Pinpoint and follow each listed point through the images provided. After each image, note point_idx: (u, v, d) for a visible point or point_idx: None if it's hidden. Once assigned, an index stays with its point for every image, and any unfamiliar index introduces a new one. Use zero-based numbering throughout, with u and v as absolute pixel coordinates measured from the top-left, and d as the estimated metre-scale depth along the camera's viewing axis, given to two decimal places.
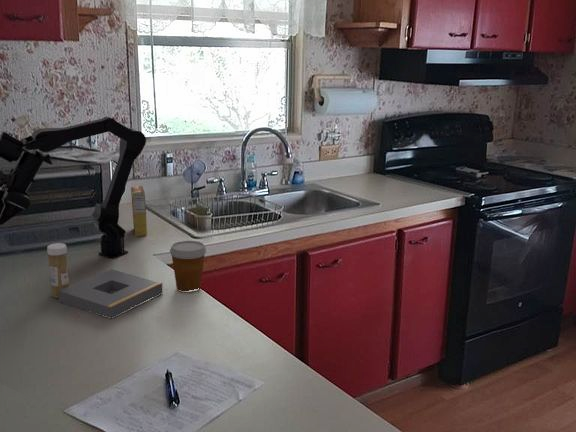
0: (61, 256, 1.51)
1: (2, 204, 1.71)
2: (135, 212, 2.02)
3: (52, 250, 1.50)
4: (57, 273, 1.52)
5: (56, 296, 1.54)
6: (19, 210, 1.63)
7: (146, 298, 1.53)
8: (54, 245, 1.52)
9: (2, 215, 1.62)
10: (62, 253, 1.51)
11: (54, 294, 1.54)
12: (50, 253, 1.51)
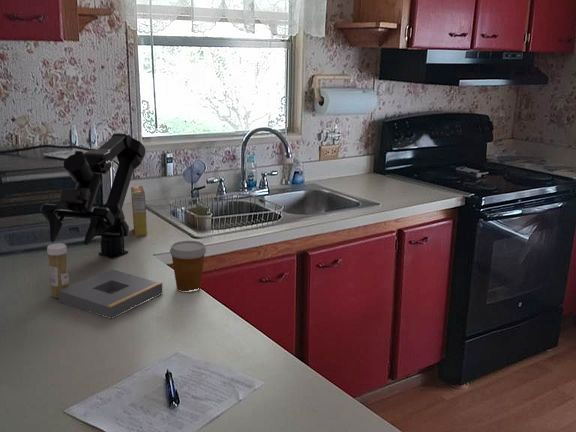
0: (61, 256, 1.51)
1: (56, 229, 1.61)
2: (135, 212, 2.02)
3: (52, 250, 1.50)
4: (57, 273, 1.52)
5: (56, 296, 1.54)
6: (101, 228, 1.62)
7: (146, 298, 1.53)
8: (54, 245, 1.52)
9: (90, 234, 1.58)
10: (62, 253, 1.51)
11: (54, 294, 1.54)
12: (50, 253, 1.51)
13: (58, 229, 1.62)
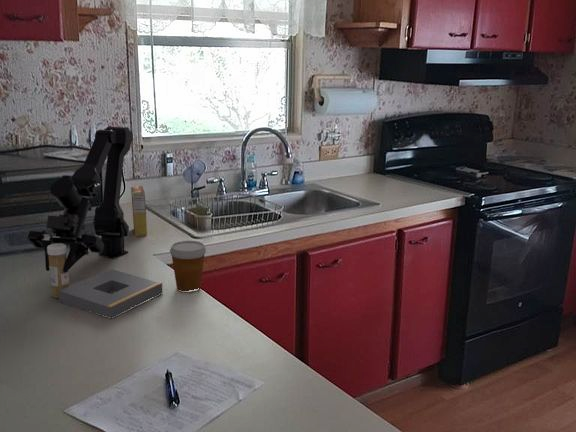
0: (61, 256, 1.51)
1: None
2: (135, 212, 2.02)
3: (51, 250, 1.50)
4: (57, 273, 1.52)
5: (56, 296, 1.54)
6: (81, 255, 1.57)
7: (146, 298, 1.53)
8: (54, 245, 1.52)
9: (70, 261, 1.53)
10: (62, 253, 1.51)
11: (54, 293, 1.54)
12: (50, 253, 1.51)
13: None
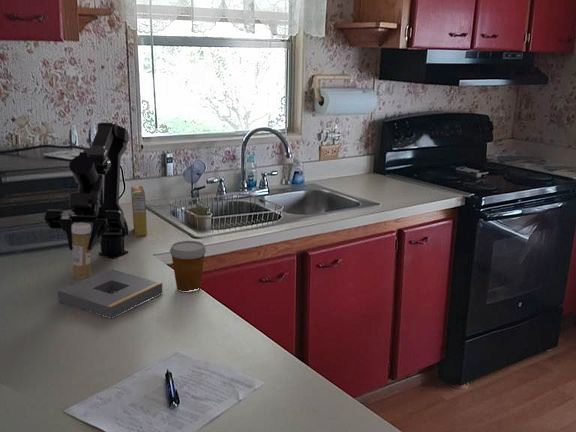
0: (86, 235, 1.49)
1: None
2: (135, 212, 2.02)
3: (78, 229, 1.48)
4: (82, 252, 1.49)
5: (79, 276, 1.51)
6: (102, 232, 1.55)
7: (146, 298, 1.53)
8: (78, 224, 1.50)
9: (94, 239, 1.51)
10: (88, 232, 1.49)
11: (76, 273, 1.51)
12: (76, 232, 1.48)
13: None
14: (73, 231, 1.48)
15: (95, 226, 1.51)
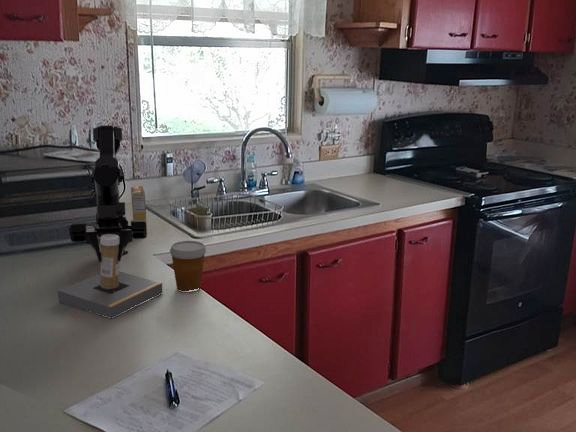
0: (116, 246, 1.51)
1: None
2: (135, 212, 2.02)
3: (109, 241, 1.49)
4: (112, 263, 1.51)
5: (109, 287, 1.52)
6: (126, 242, 1.57)
7: (146, 298, 1.53)
8: (107, 236, 1.51)
9: (122, 249, 1.53)
10: (118, 243, 1.51)
11: (106, 285, 1.52)
12: (107, 244, 1.49)
13: None
14: (103, 243, 1.49)
15: (122, 237, 1.53)
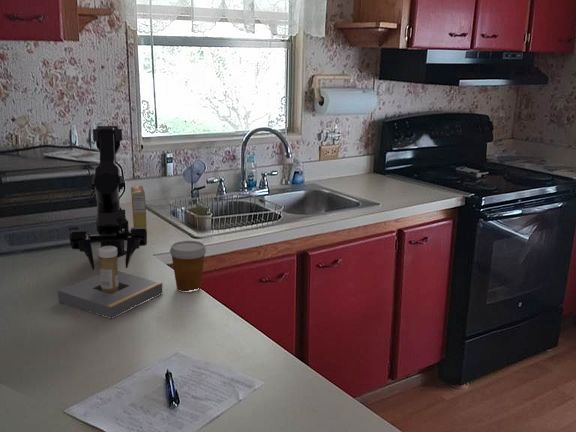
0: (115, 258, 1.51)
1: None
2: (135, 212, 2.02)
3: (107, 252, 1.50)
4: (111, 275, 1.52)
5: None
6: (133, 249, 1.58)
7: (146, 298, 1.53)
8: (105, 248, 1.51)
9: (129, 256, 1.53)
10: (116, 254, 1.52)
11: None
12: (105, 256, 1.50)
13: None
14: (101, 255, 1.50)
15: (129, 244, 1.54)
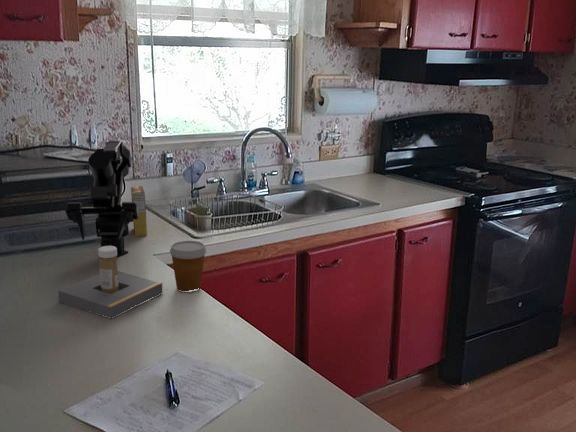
0: (114, 258, 1.51)
1: (83, 226, 1.64)
2: None
3: (107, 252, 1.50)
4: (111, 275, 1.52)
5: None
6: (127, 222, 1.68)
7: (146, 298, 1.53)
8: (104, 248, 1.51)
9: (122, 228, 1.64)
10: (116, 254, 1.52)
11: None
12: (105, 256, 1.50)
13: (84, 226, 1.65)
14: (101, 255, 1.50)
15: (122, 216, 1.64)
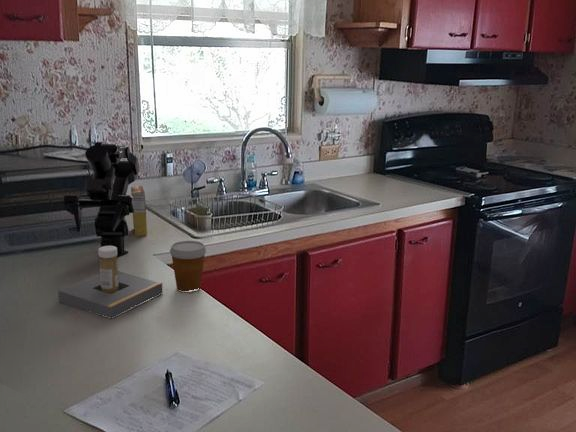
0: (115, 258, 1.51)
1: (79, 218, 1.66)
2: (135, 212, 2.02)
3: (107, 252, 1.50)
4: (111, 275, 1.52)
5: None
6: (123, 215, 1.69)
7: (146, 298, 1.53)
8: (105, 248, 1.51)
9: (116, 221, 1.65)
10: (116, 254, 1.52)
11: None
12: (105, 256, 1.50)
13: (80, 218, 1.67)
14: (101, 255, 1.50)
15: (117, 209, 1.66)
